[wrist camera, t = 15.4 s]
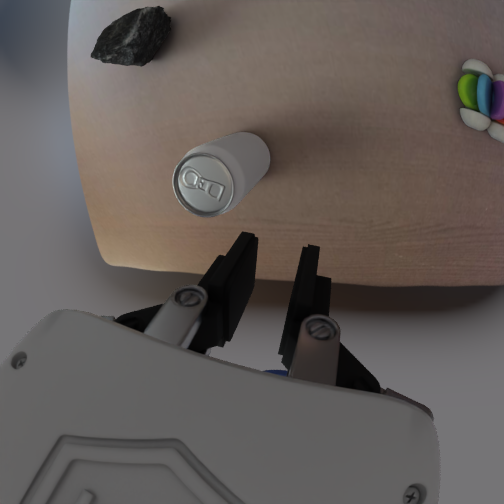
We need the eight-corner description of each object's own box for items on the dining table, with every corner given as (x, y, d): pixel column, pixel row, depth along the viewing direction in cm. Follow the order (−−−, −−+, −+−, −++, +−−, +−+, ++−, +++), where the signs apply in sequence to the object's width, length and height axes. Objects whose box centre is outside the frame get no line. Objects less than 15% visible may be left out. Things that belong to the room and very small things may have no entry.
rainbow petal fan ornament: (504, 145, 20) (536, 159, 14) (447, 118, 22) (475, 124, 16) (510, 86, 15) (543, 88, 9) (452, 54, 17) (480, 45, 11)
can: (230, 122, 30) (179, 135, 20) (280, 145, 29) (252, 168, 20) (212, 168, 33) (161, 202, 23) (258, 191, 33) (223, 234, 23)
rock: (170, 69, 27) (118, 66, 19) (129, 63, 28) (76, 63, 19) (188, 16, 23) (140, -3, 15) (145, 15, 23) (94, 3, 15)
